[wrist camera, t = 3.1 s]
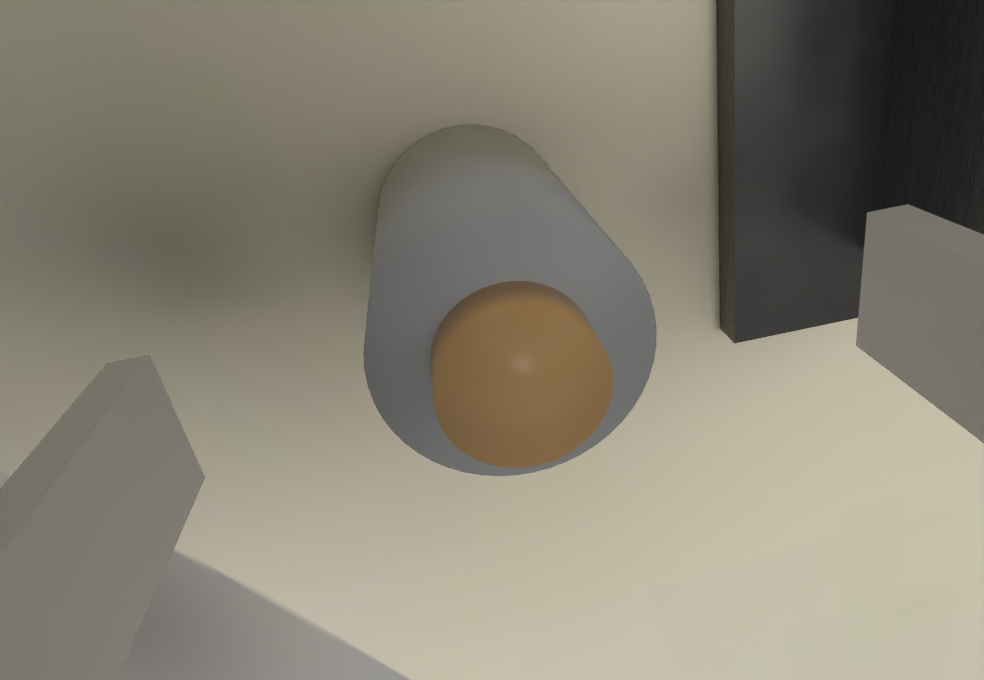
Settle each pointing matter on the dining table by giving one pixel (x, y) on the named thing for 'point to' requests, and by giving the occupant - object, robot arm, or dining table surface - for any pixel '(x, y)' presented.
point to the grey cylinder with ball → (499, 309)
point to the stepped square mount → (837, 144)
